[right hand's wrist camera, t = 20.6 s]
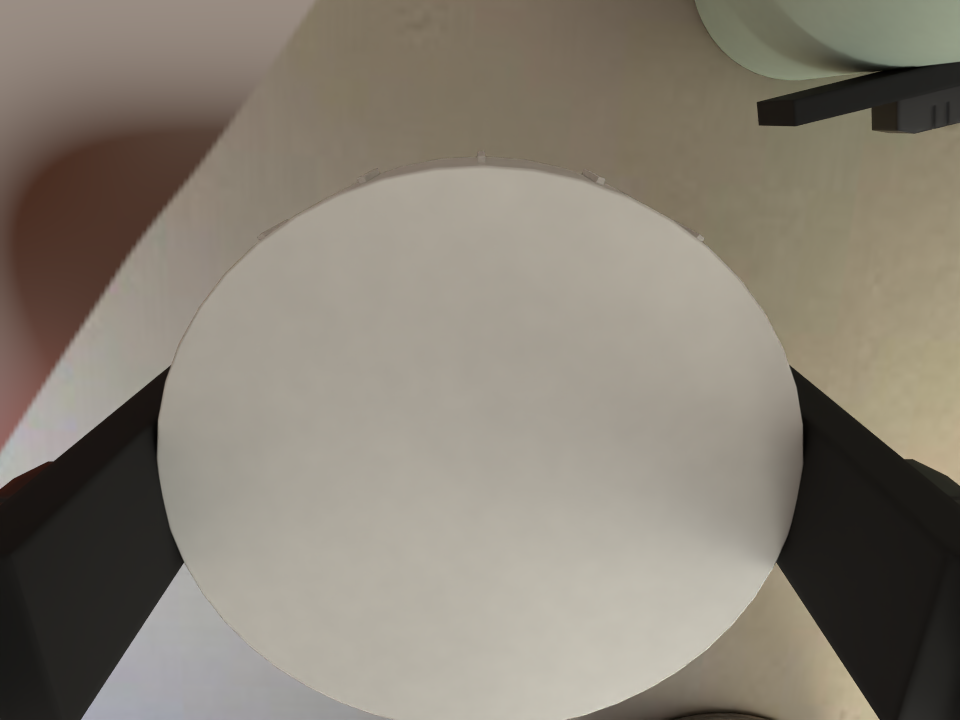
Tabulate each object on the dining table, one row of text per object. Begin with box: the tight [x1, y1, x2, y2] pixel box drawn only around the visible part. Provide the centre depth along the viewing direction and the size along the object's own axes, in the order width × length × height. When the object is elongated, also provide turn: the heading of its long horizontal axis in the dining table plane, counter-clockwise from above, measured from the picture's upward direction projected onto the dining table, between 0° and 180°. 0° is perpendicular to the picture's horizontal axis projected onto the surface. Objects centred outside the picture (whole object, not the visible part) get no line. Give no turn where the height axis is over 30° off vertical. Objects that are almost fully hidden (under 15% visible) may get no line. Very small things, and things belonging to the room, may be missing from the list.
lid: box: [157, 151, 803, 720], centre depth 11 cm, size 10×10×2 cm
